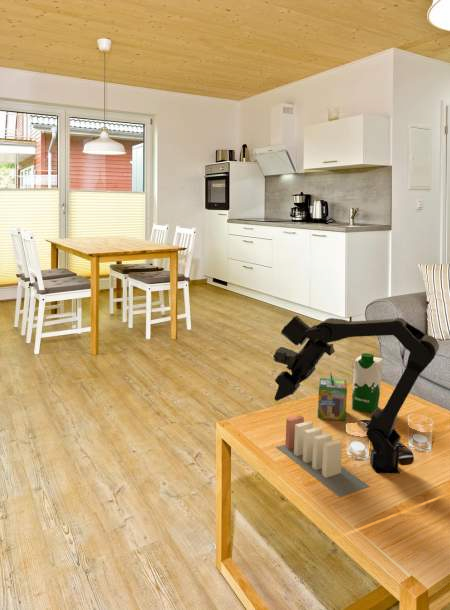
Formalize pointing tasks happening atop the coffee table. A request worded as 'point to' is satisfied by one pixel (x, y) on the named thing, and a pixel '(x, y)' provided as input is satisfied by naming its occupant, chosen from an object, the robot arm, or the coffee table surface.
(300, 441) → the domino
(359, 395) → the milk carton
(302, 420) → the domino
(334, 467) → the domino
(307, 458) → the domino
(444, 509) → the coffee table surface
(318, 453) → the domino
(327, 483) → the mat
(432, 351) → the robot arm
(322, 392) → the juice carton
